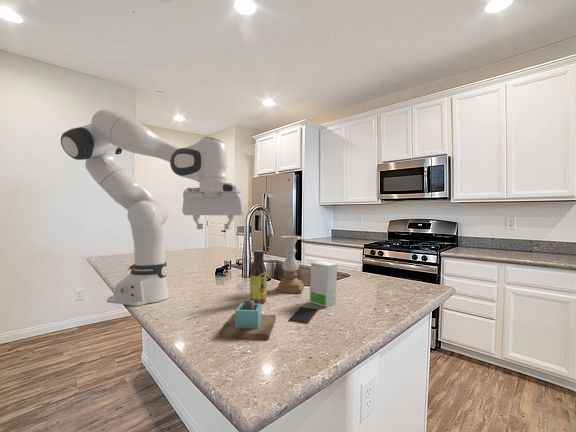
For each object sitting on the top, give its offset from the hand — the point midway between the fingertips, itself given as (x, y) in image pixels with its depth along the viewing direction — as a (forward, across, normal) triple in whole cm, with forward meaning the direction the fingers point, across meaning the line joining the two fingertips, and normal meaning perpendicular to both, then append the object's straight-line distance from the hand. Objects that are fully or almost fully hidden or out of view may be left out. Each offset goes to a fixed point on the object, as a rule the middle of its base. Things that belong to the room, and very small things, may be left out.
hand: (213, 229), depth 93 cm
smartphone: (+30, +30, +4) cm, 42 cm away
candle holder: (+29, +23, +34) cm, 50 cm away
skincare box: (+29, +37, +17) cm, 50 cm away
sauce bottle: (+29, +12, +16) cm, 35 cm away
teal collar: (+28, +14, -9) cm, 32 cm away
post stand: (+29, +14, -8) cm, 33 cm away
